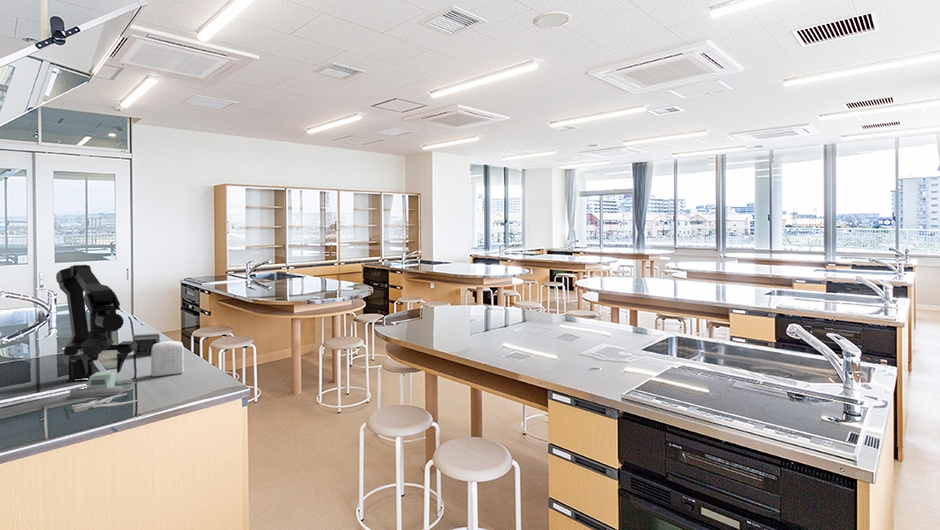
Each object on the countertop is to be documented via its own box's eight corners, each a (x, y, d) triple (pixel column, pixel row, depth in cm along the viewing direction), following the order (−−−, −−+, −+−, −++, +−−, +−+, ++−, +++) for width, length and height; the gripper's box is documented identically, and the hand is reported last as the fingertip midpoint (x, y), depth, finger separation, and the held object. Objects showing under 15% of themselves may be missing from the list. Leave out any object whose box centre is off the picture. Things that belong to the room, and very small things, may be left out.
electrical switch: (161, 352, 207) (160, 331, 206) (159, 356, 203) (158, 335, 201) (134, 354, 203) (133, 333, 201) (132, 358, 198) (131, 337, 197)
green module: (89, 392, 155) (88, 377, 155) (97, 386, 161) (97, 371, 161) (107, 391, 157) (106, 376, 156) (115, 385, 163) (114, 371, 162)
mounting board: (67, 398, 151) (67, 392, 151) (86, 385, 163) (86, 379, 163) (119, 395, 155) (119, 389, 155) (134, 382, 167) (134, 377, 167)
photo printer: (183, 370, 183) (183, 338, 182) (184, 373, 179) (183, 341, 178) (151, 374, 177) (150, 341, 176) (151, 377, 173) (150, 344, 172)
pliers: (138, 397, 150) (78, 411, 138) (138, 402, 150) (78, 416, 139) (126, 390, 156) (68, 402, 144) (126, 395, 156) (68, 408, 144)
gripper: (53, 333, 147) (55, 382, 148) (124, 331, 153) (125, 379, 154) (71, 326, 158) (73, 372, 159) (137, 324, 163) (138, 369, 164)
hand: (102, 373), depth 159 cm, fingers open, 9 cm apart
